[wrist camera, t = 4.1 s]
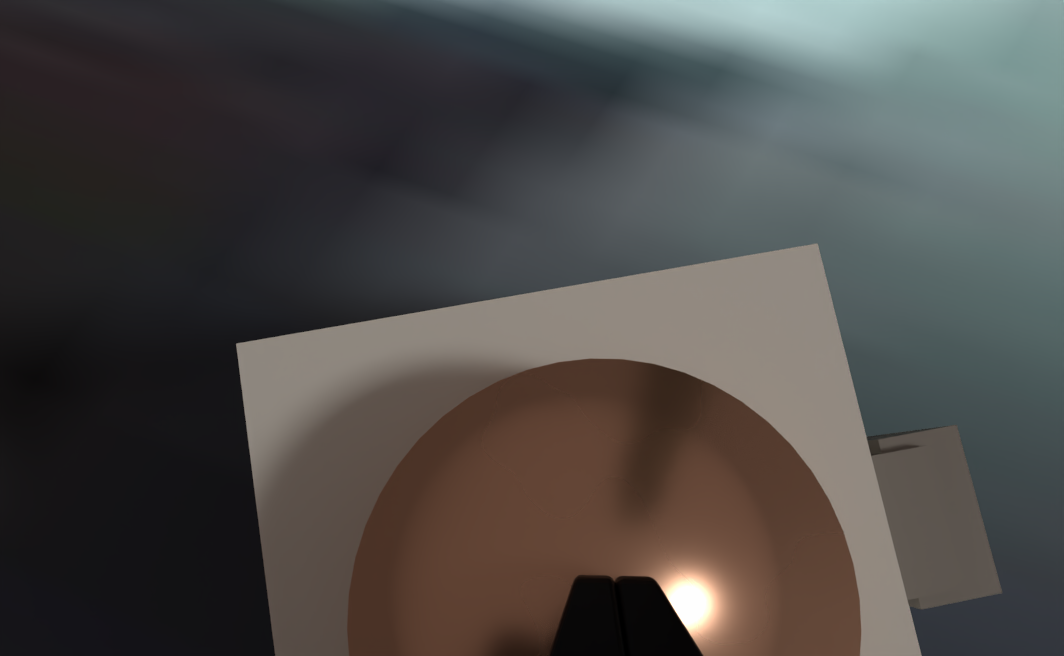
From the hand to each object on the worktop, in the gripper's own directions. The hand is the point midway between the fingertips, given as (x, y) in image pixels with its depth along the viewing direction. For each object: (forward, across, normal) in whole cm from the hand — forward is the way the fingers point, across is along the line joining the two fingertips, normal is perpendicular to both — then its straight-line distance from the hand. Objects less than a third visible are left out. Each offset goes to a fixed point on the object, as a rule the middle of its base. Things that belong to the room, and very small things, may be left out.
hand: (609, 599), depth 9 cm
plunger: (+5, 0, +5) cm, 7 cm away
